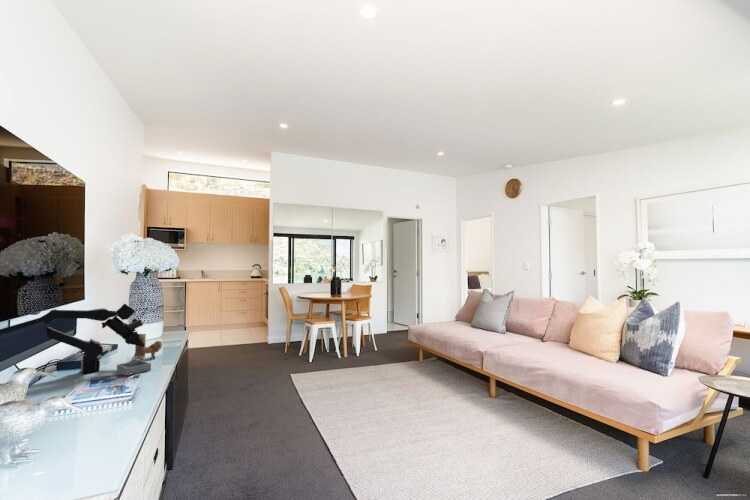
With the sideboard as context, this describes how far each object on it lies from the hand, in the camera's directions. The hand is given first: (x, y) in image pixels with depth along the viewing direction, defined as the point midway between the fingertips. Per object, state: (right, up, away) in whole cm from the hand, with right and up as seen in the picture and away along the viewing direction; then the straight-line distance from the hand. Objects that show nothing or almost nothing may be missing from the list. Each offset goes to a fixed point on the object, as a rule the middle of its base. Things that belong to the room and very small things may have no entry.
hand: (143, 345), depth 191 cm
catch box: (+4, -9, -13) cm, 16 cm away
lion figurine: (-5, -11, +12) cm, 17 cm away
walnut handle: (-1, -7, -1) cm, 7 cm away
